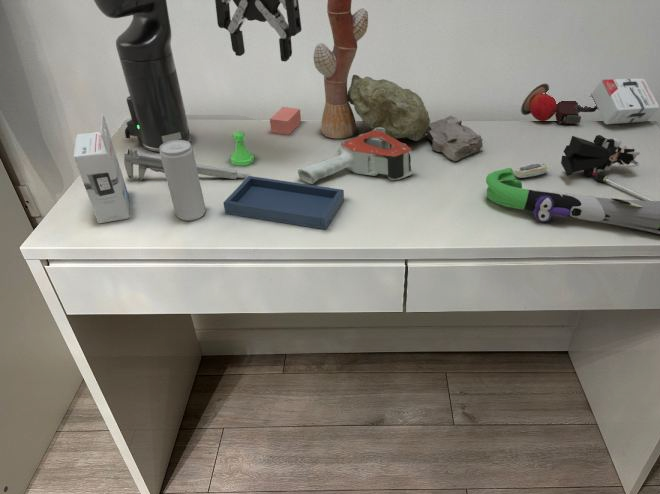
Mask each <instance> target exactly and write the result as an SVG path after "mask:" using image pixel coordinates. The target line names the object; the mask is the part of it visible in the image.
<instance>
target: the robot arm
mask: <svg viewBox="0 0 660 494" xmlns="http://www.w3.org/2000/svg"><path fill="white" fill-rule="evenodd" d="M231 1H232V2H233V3H234V5H235V6H236V9H235V12H234V14H233V16H232V17H231V9H230V8H231V7H230V2H231ZM93 2H94V3H95V5H96V7H97V8H98V10H99V11H100V12H101V13H102V14H103V15H104V16H105V17H107V18H110V19H122V18H127V17H130V16H132V20H131V22H130V24H129V25H128V27H127V28H126V29H125V30H124V31H123V32H122V33H121V34H119V36H117V38H116V40H115V47H116V51H117V55H118V58H119V61H120V62H119V63H120V66H121V69H122V74H123V76H124V80H125V83H126V87H127V90H128V94H129V96H127V97H126V104H127V108H128V111H129V114H130V118H131V119H130V120H128V121H126V128H125V130H124V138H125V139H131V137H135V138H136V139H137V143H138V146H140V147H143V148H144V149H146V150H147V151H151V152H157V153H160V149H159V148H160V146H161V145H162V144H163V143H166V142H168V141H173V140H185V141H188V142H189V143H190V144H191V142H192V140H193V139H192V134H191V133H190V127H189V123H188V118H187V114H186V109H185V104H184V99H183V95H182V90H181V85H180V82H179V77H178V72H177V68H176V64H175V59H174V54H173V49H172V42H171V41H172V27H171V20H170V14H169V8H168V2H167V0H93ZM214 2H215V13H216V21H217V27H219V28H220V29H225V30H226V31H228V33H229V36H230V44H231V49H232V51H233V53H235V56H237V57H241V56H243V55H245V53H246V49H245V43H244V35H243V30H241V28H242V26H243V25H244V23H245V21H259V22H260V23H261V22H262V23H265V22H267V23H268V24H269V26H270V27H271V28H272V29H274V30H275V31H276V33H277V34H278V36H279V37H280V38H278V44H279V45H278V46H279V53H280V54H279V55H280V61H281V62H288V60H290V58H291V57H292V55H293V47H292V45H293V44H292V37H295V36H297V35H298V34H299V33H300V32H302V29H303V28H302V22H301V21H302V20H301V13H300V4H299V0H214ZM280 4H282V6H283V7H282V8H284V10H285V11H286V18H285V16H284V14H283V13H282V11H281V10H280V9H279V7H280ZM286 19H287V21H286Z"/></svg>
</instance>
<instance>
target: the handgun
mask: <svg viewBox="0 0 660 494" xmlns="http://www.w3.org/2000/svg"><path fill="white" fill-rule="evenodd" d="M597 110H598V109H597V107H596V106H595V107H594V108H591V107H587V106H585V107H584V108H583V107H581V106H580V105H578V103H577V102H576V101H561V102H559V103H558V104H557V110H556V112H555V113H557V114H554V115H555V116H554V117H555V120H556V121H557V124H558V125H561V124H563V125H576V124H580V123H581V119H582V116H581V115H580V114H579V113H594V112H596V111H597Z"/></svg>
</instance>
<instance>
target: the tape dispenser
mask: <svg viewBox="0 0 660 494" xmlns="http://www.w3.org/2000/svg"><path fill="white" fill-rule="evenodd" d="M411 151H412V148H411V147H410V146H408V144H406V143H405V142H402V141H399V140H398V139H397V138H392V137H390V136H389V135H387V134H386V132H385V129H384V128H381V127H378V128H375V129H374V130H373V129H371V130H370V131H368V132H364V133H361V134H359V135H358V136H356V137H353V138H351V139H348V140H345V141H342V142H340V147H339V148H338V149H337V153H338V156H334V157H330V158H328V159H325V160H322V161H319V162H315V163H313V164H311V165H308V166H300V167H298V169H297V175H298V177H299V178H300V180H301V181H303V182H306V183H308V184H309V185H314V183H315V182H317V181H318V180H322V179H325V178H326V177H328V176H331V175H334V174H335V173H339V172H340V171H342V170H344V169H347V170H348V171H351V172H353V173H354V174H358V175H366V176H374V177H376V176H378V175H379V174H380V175H386V176H387V178H388V180H391V181H398V180H399V181H400V180H402V179H404V178H407V177H409V176H412V175H413V174H414V172H413V171H412V163H411V162H412V161H411V160H412V159H411V157H412V156H411V153H410V152H411Z"/></svg>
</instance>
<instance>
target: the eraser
mask: <svg viewBox="0 0 660 494" xmlns="http://www.w3.org/2000/svg"><path fill="white" fill-rule="evenodd" d="M301 123H302V118H301V109H300V108H296V107H288V106H282V107H281V108H280V109H279V110H277V111H276V113H274V115H272V116H271V117H270V118H269V125H270V132H271V133H272V134H279V135H286V136H290V135H291V133H292V132H294V130H295V129H296V128H298V126H299V125H300V124H301Z"/></svg>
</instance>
